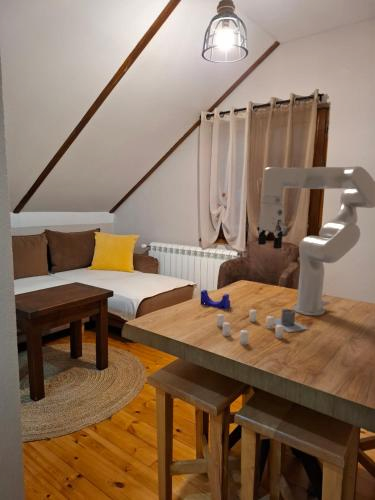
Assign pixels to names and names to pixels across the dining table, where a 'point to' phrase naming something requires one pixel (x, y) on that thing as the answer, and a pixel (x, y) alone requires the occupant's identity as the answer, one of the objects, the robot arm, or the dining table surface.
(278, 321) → the mat
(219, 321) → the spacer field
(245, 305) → the dining table surface
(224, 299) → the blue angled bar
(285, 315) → the grey faceted polyhedron
